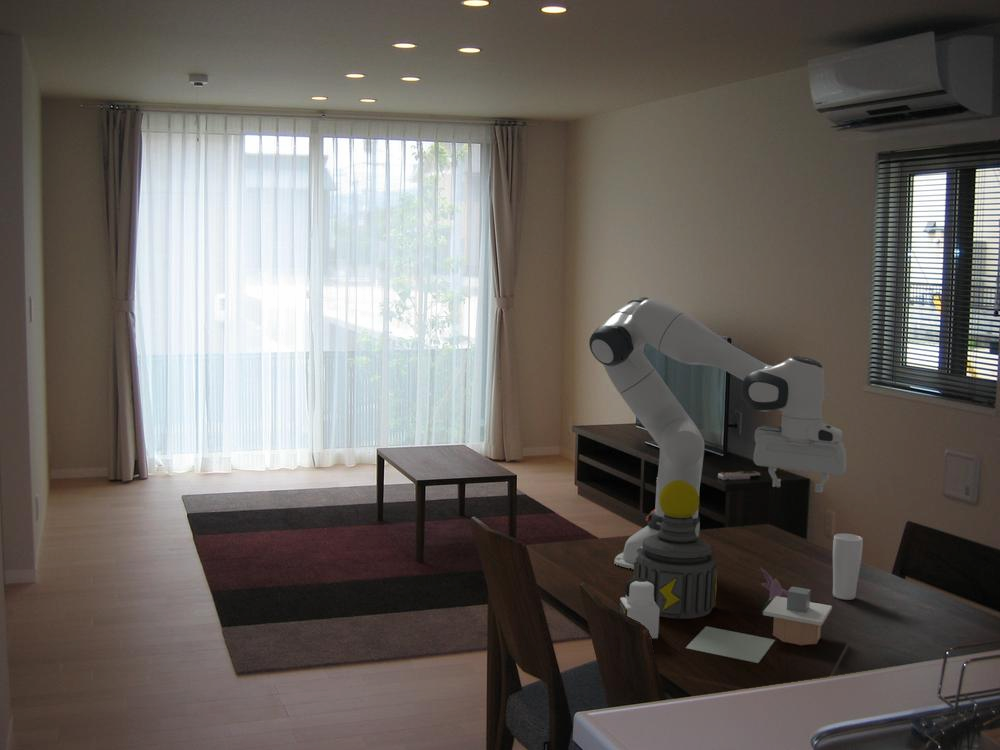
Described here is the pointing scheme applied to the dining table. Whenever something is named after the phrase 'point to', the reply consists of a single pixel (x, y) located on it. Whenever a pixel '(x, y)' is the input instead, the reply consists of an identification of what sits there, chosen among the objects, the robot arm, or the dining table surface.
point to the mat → (731, 644)
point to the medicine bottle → (641, 604)
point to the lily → (773, 588)
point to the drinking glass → (846, 565)
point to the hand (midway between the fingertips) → (797, 489)
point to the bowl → (796, 631)
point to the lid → (798, 607)
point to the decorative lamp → (679, 558)
